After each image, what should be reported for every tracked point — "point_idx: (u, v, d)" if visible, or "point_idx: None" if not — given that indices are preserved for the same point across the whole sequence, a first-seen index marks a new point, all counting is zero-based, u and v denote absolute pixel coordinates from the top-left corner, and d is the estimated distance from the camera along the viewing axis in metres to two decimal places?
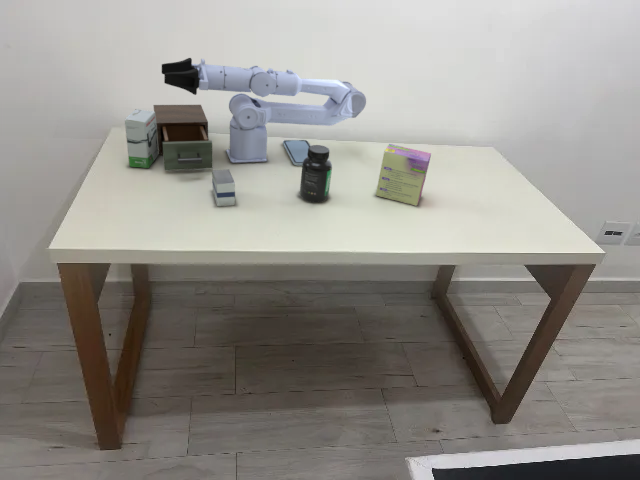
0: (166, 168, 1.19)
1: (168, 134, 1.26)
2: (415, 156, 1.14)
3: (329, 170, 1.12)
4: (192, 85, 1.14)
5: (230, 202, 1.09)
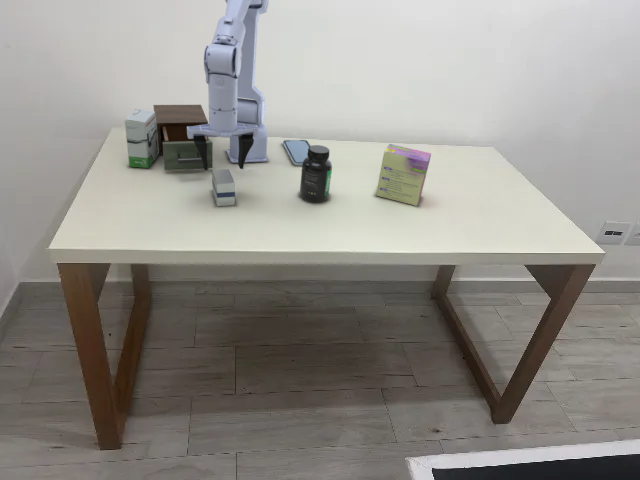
0: (166, 168, 1.19)
1: (168, 134, 1.26)
2: (415, 156, 1.14)
3: (329, 170, 1.12)
4: None
5: (230, 202, 1.09)
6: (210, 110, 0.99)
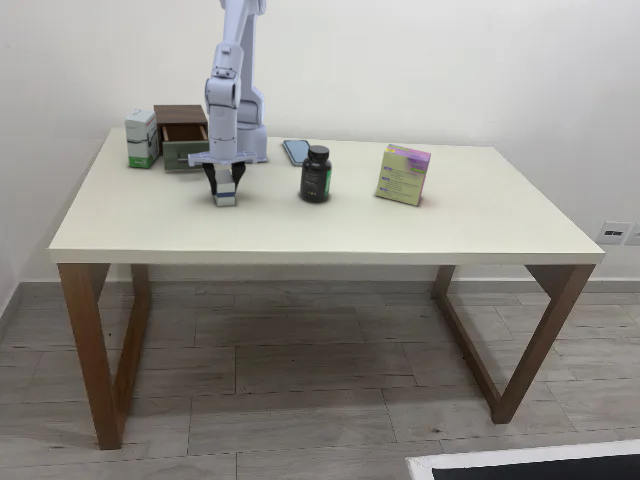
0: (166, 168, 1.19)
1: (168, 134, 1.26)
2: (415, 156, 1.14)
3: (329, 170, 1.12)
4: None
5: (230, 202, 1.09)
6: (211, 139, 1.03)
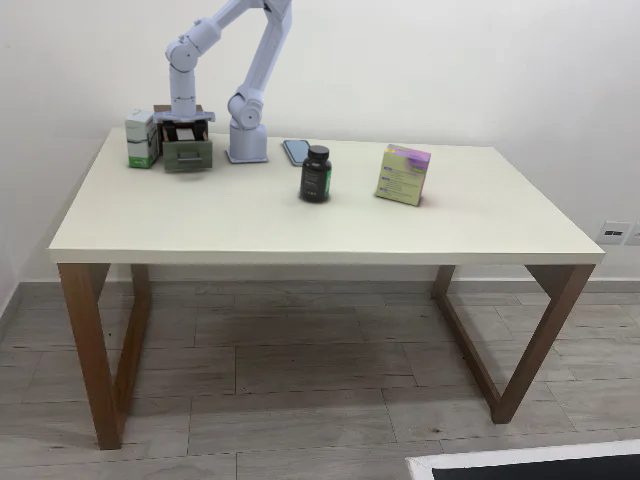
0: (166, 168, 1.19)
1: None
2: (415, 156, 1.14)
3: (329, 170, 1.12)
4: None
5: None
6: (171, 98, 1.16)
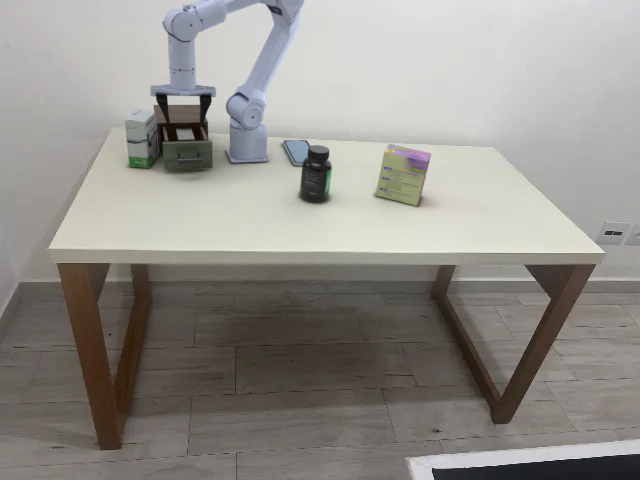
0: (166, 168, 1.19)
1: (168, 134, 1.26)
2: (415, 156, 1.14)
3: (329, 170, 1.12)
4: None
5: None
6: (170, 70, 1.10)
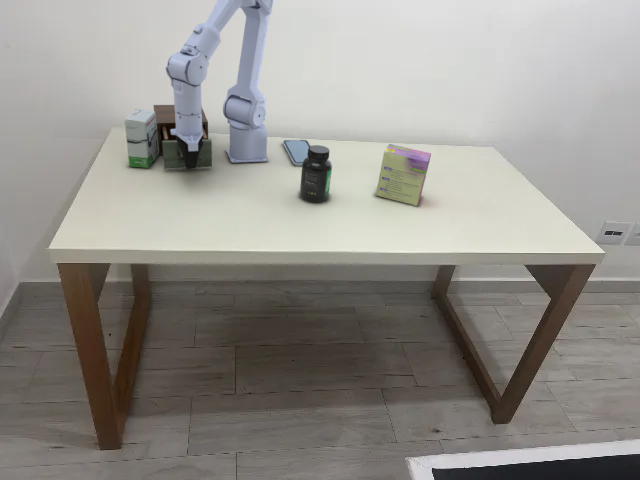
0: (166, 167, 1.19)
1: (168, 133, 1.27)
2: (415, 156, 1.14)
3: (329, 170, 1.12)
4: None
5: None
6: None
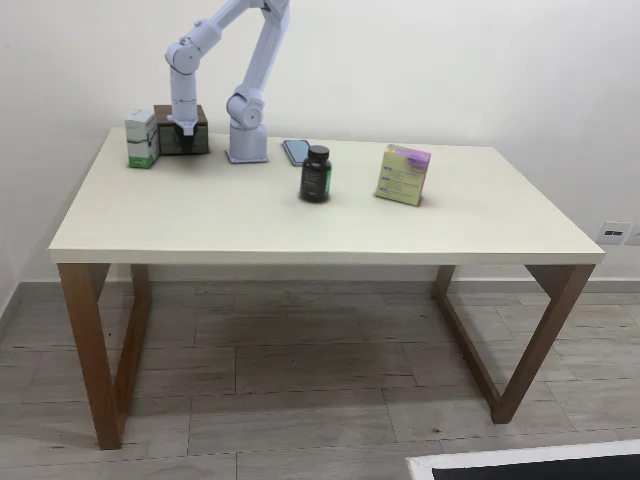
0: (163, 151, 1.26)
1: None
2: (415, 156, 1.14)
3: (329, 170, 1.12)
4: None
5: None
6: None
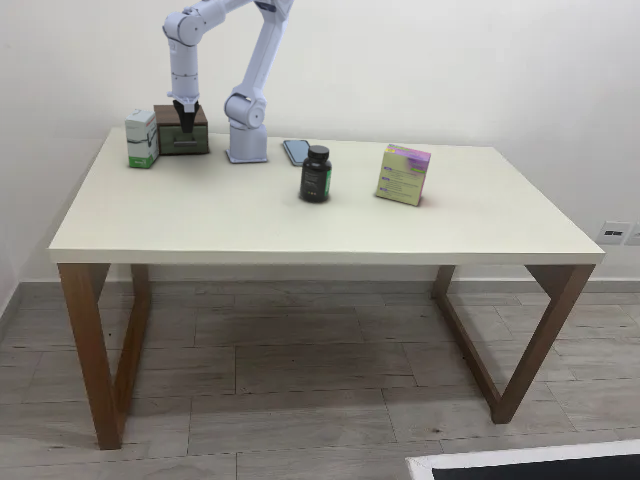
0: (163, 151, 1.27)
1: None
2: (415, 156, 1.14)
3: (329, 170, 1.12)
4: None
5: None
6: None
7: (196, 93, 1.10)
